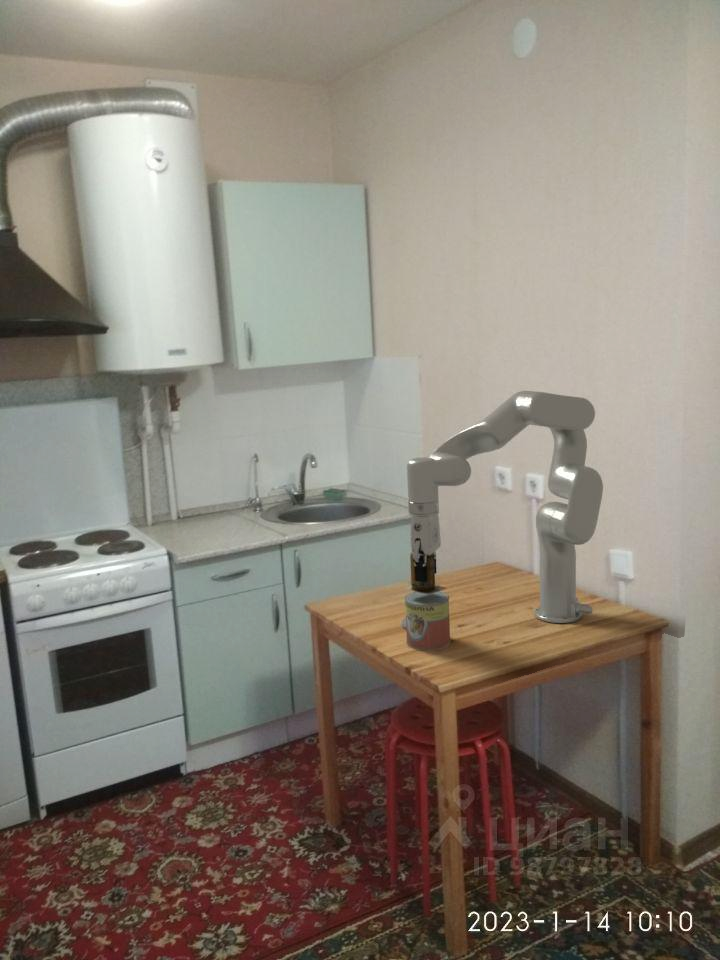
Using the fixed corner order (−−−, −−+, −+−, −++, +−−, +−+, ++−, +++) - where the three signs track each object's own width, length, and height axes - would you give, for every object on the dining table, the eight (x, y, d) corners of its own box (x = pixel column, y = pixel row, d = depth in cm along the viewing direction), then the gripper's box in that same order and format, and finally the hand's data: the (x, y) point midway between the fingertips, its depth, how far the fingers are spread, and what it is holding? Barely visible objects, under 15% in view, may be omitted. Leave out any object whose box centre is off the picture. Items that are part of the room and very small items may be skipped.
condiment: (424, 582, 205) (422, 537, 203) (447, 589, 199) (446, 542, 197) (403, 588, 201) (401, 542, 198) (426, 595, 194) (425, 548, 192)
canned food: (397, 644, 202) (395, 599, 200) (423, 631, 210) (421, 587, 208) (434, 654, 195) (432, 607, 193) (459, 639, 203) (457, 595, 201)
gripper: (426, 515, 187) (429, 588, 190) (448, 501, 203) (450, 568, 206) (397, 514, 190) (400, 586, 193) (420, 500, 206) (422, 566, 209)
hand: (425, 576), depth 200 cm, fingers closed on condiment, 6 cm apart
